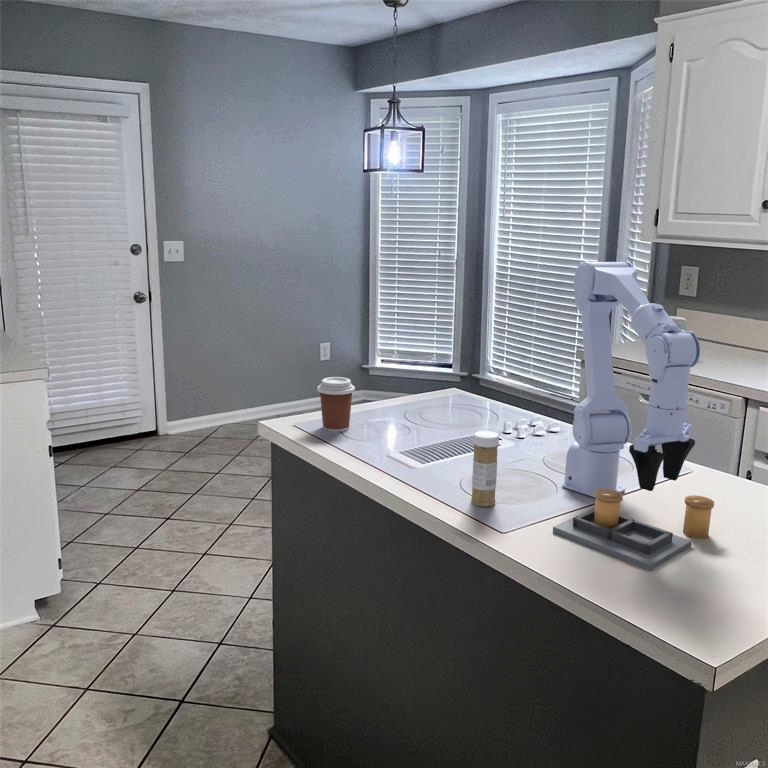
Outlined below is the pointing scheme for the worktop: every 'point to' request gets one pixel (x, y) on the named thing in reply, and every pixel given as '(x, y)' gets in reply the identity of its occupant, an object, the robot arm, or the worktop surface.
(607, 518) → the jaw peg
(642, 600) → the worktop surface
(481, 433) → the sprinkles bottle
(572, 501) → the worktop surface
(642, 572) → the worktop surface
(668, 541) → the housing
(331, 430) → the coffee cup
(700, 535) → the jaw peg
